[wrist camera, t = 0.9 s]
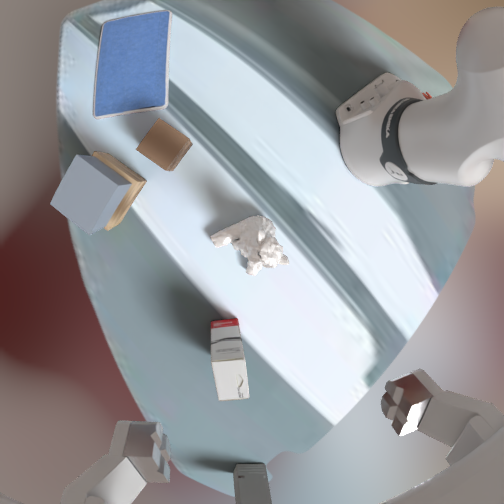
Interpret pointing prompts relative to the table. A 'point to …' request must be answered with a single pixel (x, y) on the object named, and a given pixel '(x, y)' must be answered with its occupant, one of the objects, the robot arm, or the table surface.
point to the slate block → (90, 193)
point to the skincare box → (251, 484)
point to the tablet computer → (133, 65)
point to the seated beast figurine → (253, 243)
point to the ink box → (228, 360)
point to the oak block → (131, 193)
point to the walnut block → (164, 145)
